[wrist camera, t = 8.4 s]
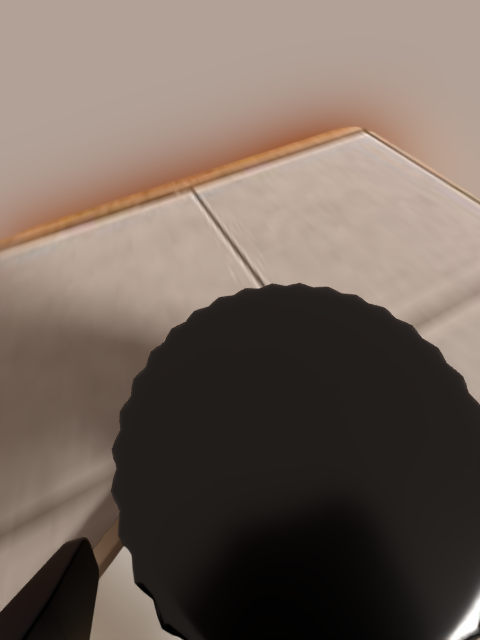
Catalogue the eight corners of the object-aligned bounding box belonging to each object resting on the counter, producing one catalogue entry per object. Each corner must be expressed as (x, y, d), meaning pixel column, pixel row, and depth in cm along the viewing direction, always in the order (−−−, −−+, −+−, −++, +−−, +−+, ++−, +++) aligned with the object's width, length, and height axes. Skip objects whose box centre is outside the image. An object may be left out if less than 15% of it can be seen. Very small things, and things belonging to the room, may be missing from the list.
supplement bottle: (182, 432, 15) (48, 273, 5) (309, 399, 16) (405, 203, 6) (205, 611, 12) (-88, 1223, 2) (369, 559, 12) (889, 751, 2)
